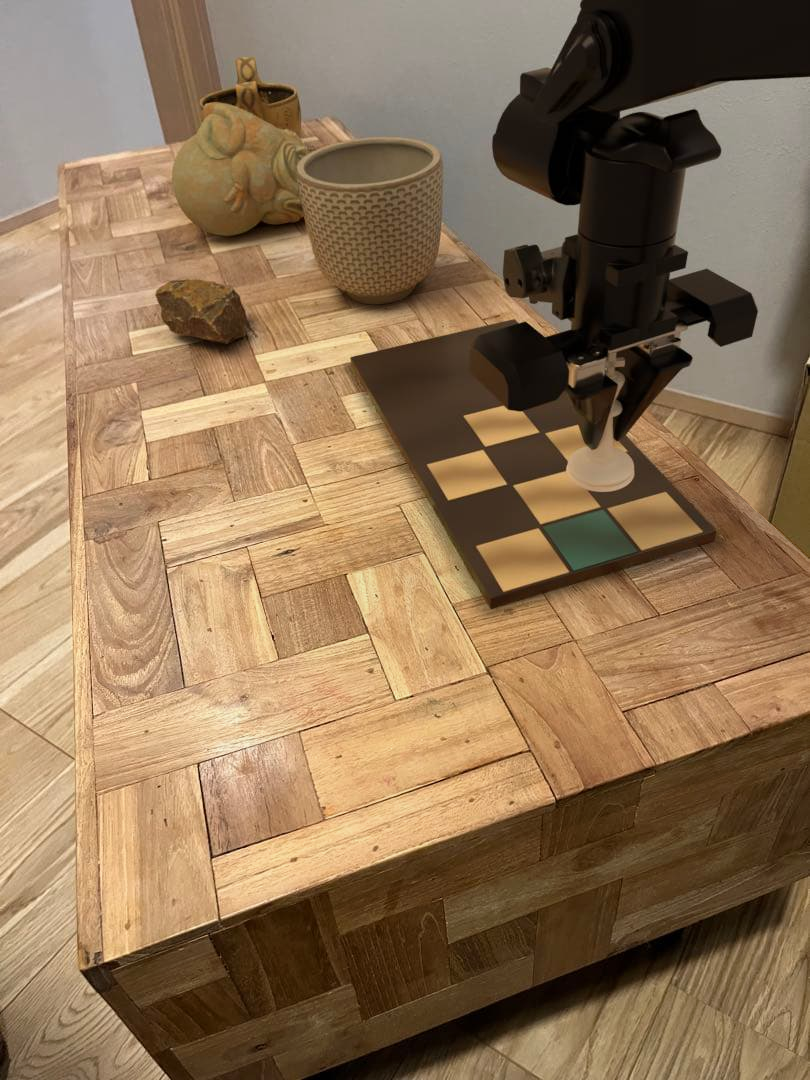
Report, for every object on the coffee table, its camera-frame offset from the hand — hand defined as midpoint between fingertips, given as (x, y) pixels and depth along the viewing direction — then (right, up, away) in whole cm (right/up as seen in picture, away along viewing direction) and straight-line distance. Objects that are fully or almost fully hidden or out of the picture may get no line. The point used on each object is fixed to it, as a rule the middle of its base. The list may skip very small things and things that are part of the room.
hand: (603, 442), depth 59 cm
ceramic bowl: (-40, +60, +88) cm, 114 cm away
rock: (-38, +18, +41) cm, 59 cm away
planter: (-17, +25, +47) cm, 56 cm away
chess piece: (0, -2, +2) cm, 3 cm away
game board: (-5, +3, +21) cm, 22 cm away
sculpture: (-37, +40, +66) cm, 86 cm away
